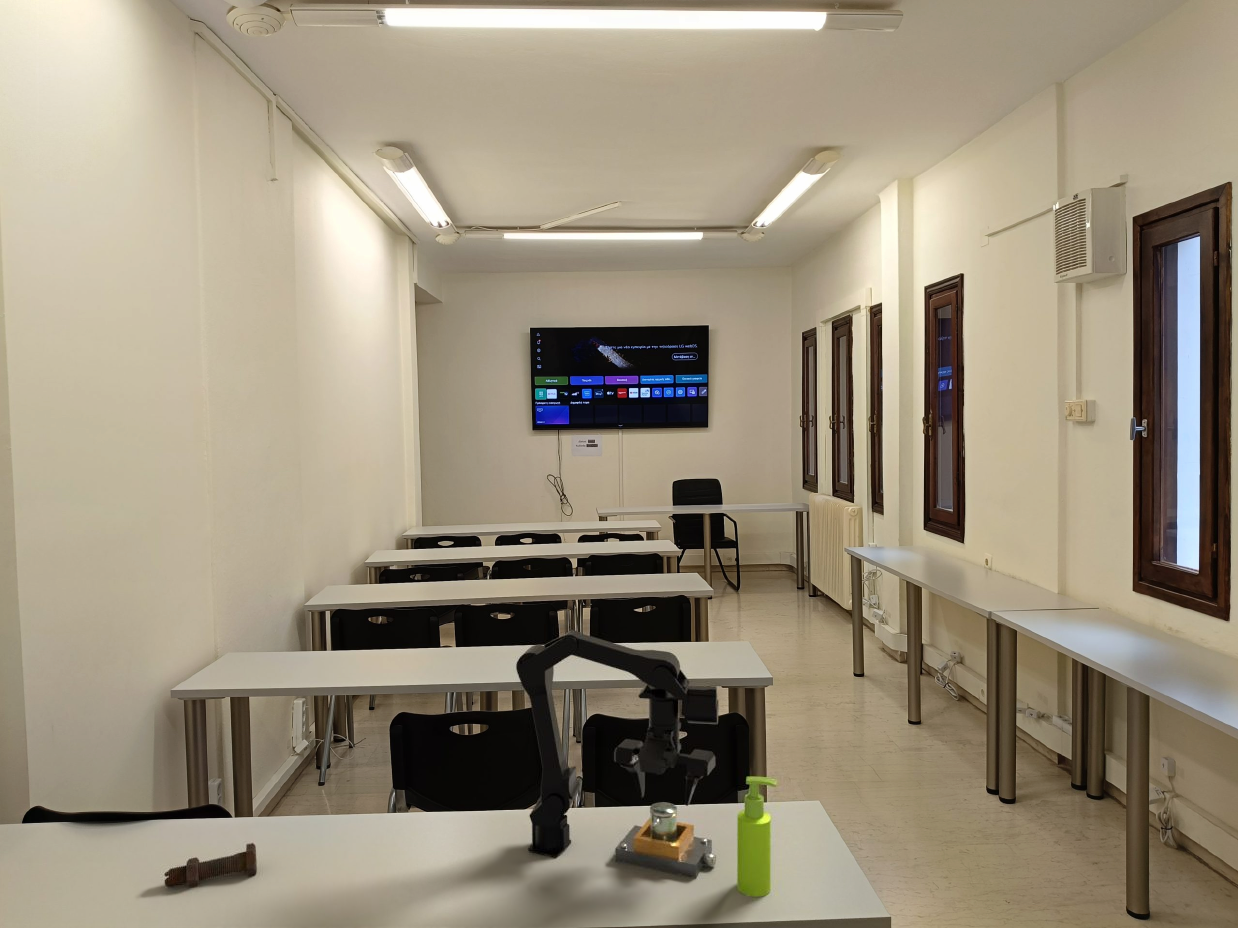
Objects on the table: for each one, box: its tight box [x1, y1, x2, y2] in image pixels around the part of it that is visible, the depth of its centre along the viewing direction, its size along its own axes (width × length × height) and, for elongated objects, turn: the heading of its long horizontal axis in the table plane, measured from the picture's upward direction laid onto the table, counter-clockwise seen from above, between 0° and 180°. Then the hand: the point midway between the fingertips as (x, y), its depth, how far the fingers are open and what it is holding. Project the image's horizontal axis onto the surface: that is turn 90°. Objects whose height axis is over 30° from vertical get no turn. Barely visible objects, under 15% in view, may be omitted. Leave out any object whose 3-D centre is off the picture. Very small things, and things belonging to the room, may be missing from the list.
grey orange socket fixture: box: [614, 817, 717, 879], centre depth 162 cm, size 18×10×5 cm, turn 67°
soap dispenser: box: [736, 776, 778, 898], centre depth 151 cm, size 6×7×20 cm
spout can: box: [649, 801, 678, 843], centre depth 161 cm, size 5×8×7 cm, turn 158°
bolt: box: [164, 842, 258, 889], centre depth 155 cm, size 6×5×15 cm
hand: (664, 800), depth 162 cm, fingers open, 9 cm apart
